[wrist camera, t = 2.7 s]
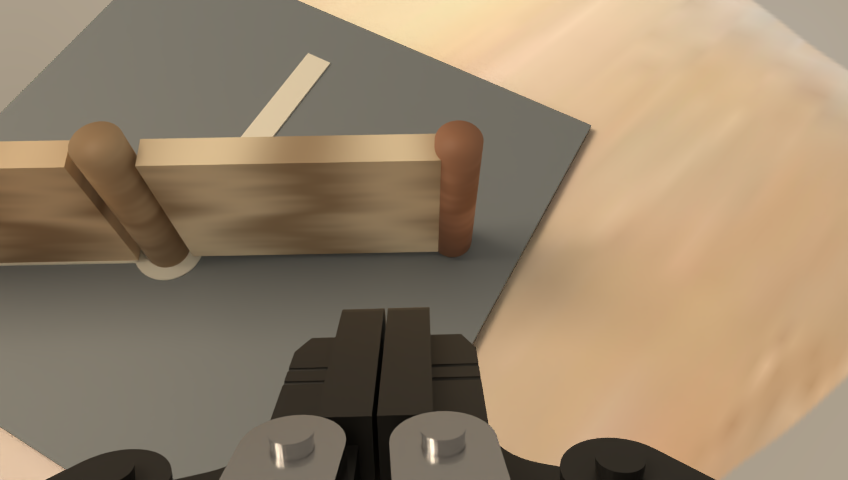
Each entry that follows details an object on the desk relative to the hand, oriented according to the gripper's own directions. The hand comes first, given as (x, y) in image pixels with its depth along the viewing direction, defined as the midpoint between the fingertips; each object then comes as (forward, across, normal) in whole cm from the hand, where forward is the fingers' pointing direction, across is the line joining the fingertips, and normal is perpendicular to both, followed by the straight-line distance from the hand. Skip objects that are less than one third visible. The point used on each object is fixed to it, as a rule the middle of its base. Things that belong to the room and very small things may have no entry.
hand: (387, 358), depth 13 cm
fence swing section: (+21, +4, +5) cm, 22 cm away
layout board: (+23, +9, +4) cm, 25 cm away
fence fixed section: (+21, +17, +5) cm, 28 cm away
